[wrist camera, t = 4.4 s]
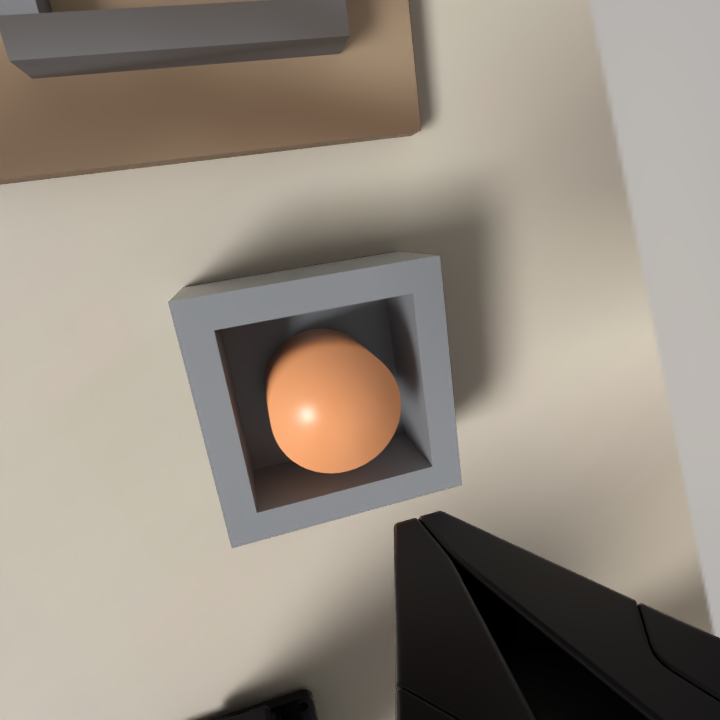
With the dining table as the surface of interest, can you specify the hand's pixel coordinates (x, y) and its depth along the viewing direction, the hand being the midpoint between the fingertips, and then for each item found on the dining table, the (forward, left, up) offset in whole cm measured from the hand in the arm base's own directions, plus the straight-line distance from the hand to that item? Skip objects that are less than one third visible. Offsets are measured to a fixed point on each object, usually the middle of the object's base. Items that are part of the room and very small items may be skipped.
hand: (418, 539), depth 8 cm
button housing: (0, 0, -11) cm, 11 cm away
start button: (0, 0, -10) cm, 10 cm away
